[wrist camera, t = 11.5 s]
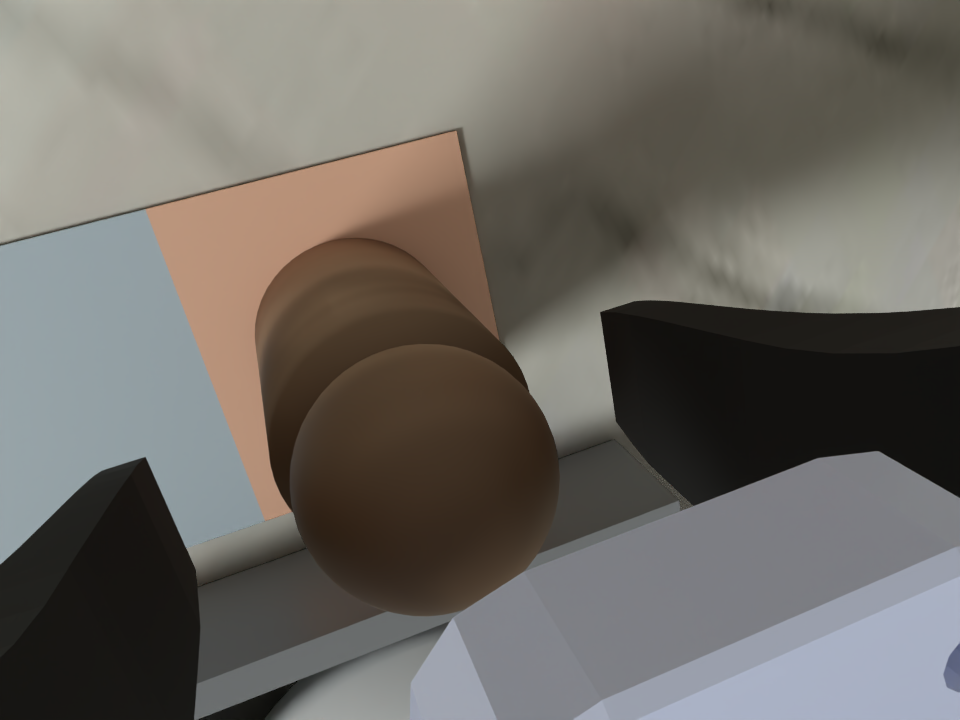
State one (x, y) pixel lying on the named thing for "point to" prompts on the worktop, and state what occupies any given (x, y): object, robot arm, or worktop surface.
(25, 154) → the worktop surface
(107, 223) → the strip
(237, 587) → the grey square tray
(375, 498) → the walnut pawn
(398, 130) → the worktop surface
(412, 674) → the dome
